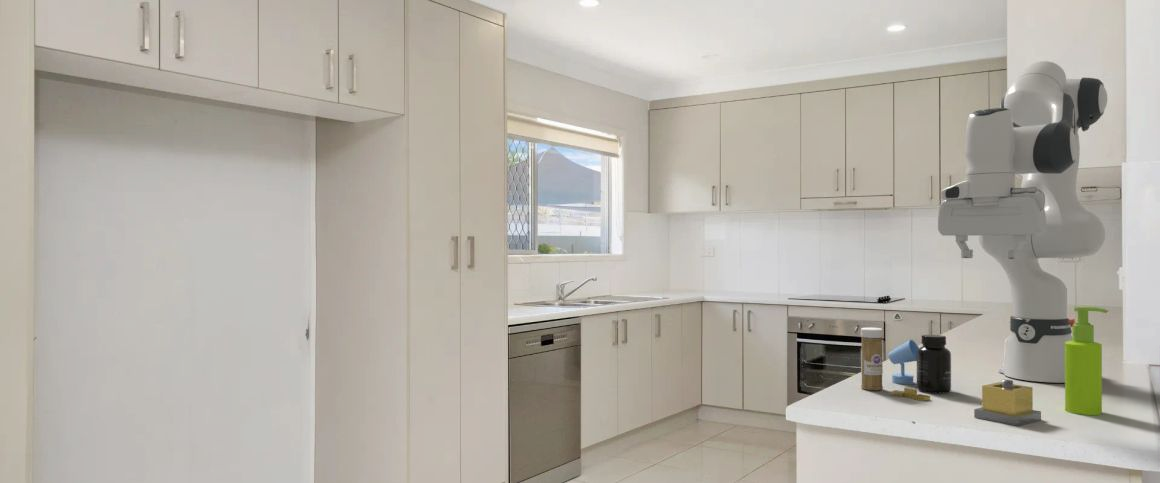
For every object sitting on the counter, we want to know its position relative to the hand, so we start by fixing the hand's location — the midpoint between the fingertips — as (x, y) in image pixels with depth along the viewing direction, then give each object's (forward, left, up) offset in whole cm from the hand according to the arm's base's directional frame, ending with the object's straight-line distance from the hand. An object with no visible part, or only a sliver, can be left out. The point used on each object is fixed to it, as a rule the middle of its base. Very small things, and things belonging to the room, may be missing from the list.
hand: (990, 258), depth 153 cm
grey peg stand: (+9, +8, -29) cm, 31 cm away
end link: (+9, +8, -28) cm, 30 cm away
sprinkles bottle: (+6, -23, -29) cm, 38 cm away
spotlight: (-6, -23, -29) cm, 38 cm away
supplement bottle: (-3, -14, -29) cm, 33 cm away
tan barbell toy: (+7, -13, -29) cm, 33 cm away
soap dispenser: (-8, +14, -29) cm, 33 cm away
